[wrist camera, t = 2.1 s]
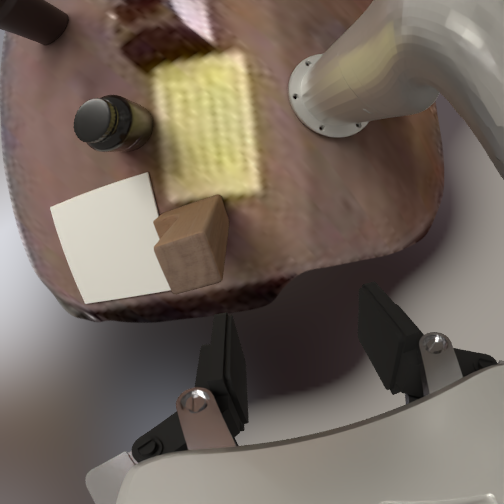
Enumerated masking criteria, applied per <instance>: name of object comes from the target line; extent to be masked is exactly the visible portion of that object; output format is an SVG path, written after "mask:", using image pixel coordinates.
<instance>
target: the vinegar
mask: <svg viewBox="0 0 504 504" xmlns="http://www.w3.org/2000/svg"><path fill="white" fill-rule="evenodd" d="M67 22H68V16H67V15H66V13H64V12H63V11H61V10H59V9H58V8H56V7H55V6H53V5H51V4H50V3H48V2H46V1H44V0H0V29H2V30H5V31H8V32H11V33H14V34H17V35H20V36H22V37H25V38H28V39H31V40H33V41H36V42H38V43H41V44H44V45H45V44H49V43H51V42H53V41H54V40H56V39H57V38H58V37H59V36H60V35H61V34H62V32H63V31H64V29H65V27H66V25H67Z"/></svg>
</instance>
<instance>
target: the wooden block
mask: <svg viewBox="0 0 504 504" xmlns="http://www.w3.org/2000/svg"><path fill="white" fill-rule="evenodd" d="M153 224H154V226H155V229H156V232H157V234H158V237H159V239H160V240H159V241H158V242H157V244H156V245H155V246H154V252H155V255H156V257H157V260H158V262H159V264H160V266H161V269H162V271H163V273H164V276H165V278H166V280H167V282H168V284H169V287H170V289H171V291H172V293H173V294H179V293H183V292H187V291H190V290H194V289H198V288H202V287H205V286H209V285H212V284H216V283H219V282H221V281H222V280H223V271H224V263H225V254H226V246H227V238H228V230H229V219H228V216H227V213H226V210H225V206H224V203H223V200H222V197H221V196H220V195H215V196H212V197H209V198H205V199H202V200H199V201H196V202H193V203H190V204H187V205H184V206H181V207H179V208H176V209H173V210H170V211H167V212H164V213H162V214H161V215H160V216H159V217H158V218H156V219H155V220H154V221H153Z"/></svg>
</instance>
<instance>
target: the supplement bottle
mask: <svg viewBox="0 0 504 504" xmlns="http://www.w3.org/2000/svg"><path fill="white" fill-rule="evenodd" d="M152 129H153V120H152V117H151V114H150V113H149V111H148V110H147V109H146V108H144V107H143V106H141V105H139V104H137V103H135V102H132V101H130V100H128V99H126V98H124V97H121V96H118V95H107V96H104V97H101V98H96V99H95V98H94V99H92V100H89V101H86V102H85V103H84V104H83V105H82V106H81V107H80V108H79V110H78V111H77V114H76V116H75V119H74V131H75V133H76V135H77V137H78V138H79V139H80V140H82V141H83V142H86V143H87V144H88V145H89V146H90V147H91V148H93V149H94V150H97V151H101V152H115V151H132V150H136V149H138V148H140V147H141V146H143V145H144V144H145V143H146V142H147V140H148V139H149V137H150V135H151V133H152Z"/></svg>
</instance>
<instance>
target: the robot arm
mask: <svg viewBox="0 0 504 504" xmlns="http://www.w3.org/2000/svg"><path fill="white" fill-rule="evenodd" d="M306 64H308V65H309V66H307V65H306ZM439 93H441V94H442V95H443V96H444V97H445V98H446V99H447V100H448V101H449V103H450V104H451V105H452V106H453V107H454V109H455V110H456V111H457V112H458V113H459V115H460V116H461V117H462V118H463V119H464V120H465V122H466V123H467V124H468V126H469V127H470V129H471V130H472V131H473V133H474V134H475V136H476V137H477V139H478V140H479V142H480V143H481V145H482V146H483V148H484V149H485V151H486V153H487V154H488V156H489V158H490V159H491V161H492V162H493V164H494V166H495V167H496V169H497V170H498V172H499V174H500V175H501V177H502V178H503V179H504V0H373V2H372V3H371V4H370V6H369V7H368V9H367V10H366V11H365V12H364V13H363V14H362V15H361V16H360V18H359V19H358V20H357V21H356V22H355V23H354V24H353V25H352V26H351V27H350V28H349V29H348V30H347V31H346V32H345V33H344V34H343V35H342V36H341V37H340V38H339V39H338V40H337V41H336V42H335V43H334V44H333V45H332V46H331V47H330V48H329V49H328V50H327V51H326V52H325V53H324V54H317V55H314V56H311V57H308V58H306V59H305V60H303V61H302V62H301V63H300V64H298V65H297V67H296V68H295V69H294V71H293V73H292V74H291V76H290V80H289V83H288V96H289V101H290V104H291V107H292V109H293V111H294V112H295V114H296V116H297V117H298V118H299V119H300V121H301V122H302V123H303V124H304V125H306V126H307V127H308V128H309V129H311V130H313V131H314V132H316V133H318V134H321V135H324V136H328V137H347V136H351V135H354V134H356V133H357V132H359V131H361V130H362V129H363V128H364V127H365V126H366V125H367V124H368V122H369V121H372V120H379V119H385V118H392V117H399V116H406V115H412V114H417V113H420V112H422V111H424V110H426V109H427V108H428V107H430V106H431V105H432V104H433V103H434V101H435V100H436V98H437V97H438V95H439ZM293 96H295V97H296V99H294V98H293ZM356 124H357V125H358V127H356ZM319 127H322V130H320V129H319ZM358 338H359V341H360V343H361V344H362V346H363V348H364V350H365V352H366V353H367V355H368V357H369V359H370V361H371V362H372V364H373V366H374V368H375V370H376V372H377V373H378V375H379V377H380V379H381V381H382V382H383V385H384V386H385V388H386V389H387V390H389V389H390V390H391V393H392V394H393V395H394V394H397V393H399V392H402V393H405V400H406V405H404V406H401V407H399V408H396V409H393V410H391V411H388V412H386V413H383V414H380V415H377V416H374V417H371V418H369V419H366V420H362V421H359V422H356V423H353V424H350V425H346V426H343V427H339V428H335V429H331V430H328V431H324V432H319V433H315V434H311V435H306V436H302V437H297V438H291V439H286V440H280V441H274V442H268V443H260V444H253V445H244V446H238V444H237V442H236V440H235V436H236V435H238V434H239V433H240V431H244V424H246V423H248V401H247V378H246V363H245V358H244V354H243V351H242V347H241V344H240V340H239V337H238V334H237V330H236V326H235V323H234V319H233V316H232V315H230V316H228V314H227V313H222V314H216V315H214V322H213V329H212V337H211V344H209V345H202V346H201V350H200V356H199V364H198V369H197V376H196V383H195V388H190V389H188V390H186V391H184V392H183V393H182V394H181V395H180V396H179V397H178V399H177V401H176V409H177V412H175V413H174V414H173V415H171V416H170V417H169V418H167V419H166V420H164V421H163V422H162V423H160V424H159V425H157V426H156V427H154V428H153V429H151V430H150V431H149V432H147V433H146V434H144V435H143V436H141V437H140V438H139V439H137V440H136V441H135V443H134V444H133V446H132V451H130V452H129V453H127V452H123V453H121V454H120V455H118V456H116V457H114V458H112V459H111V460H109V461H107V462H105V463H103V464H102V465H100V466H98V467H96V468H94V469H92V470H91V471H89V472H88V474H87V476H86V480H85V482H86V486H87V488H88V490H89V492H90V494H91V496H92V498H93V500H94V502H95V504H504V361H499V363H497V362H496V360H495V359H494V358H493V357H491V356H490V355H487V354H482V353H476V352H471V351H466V350H460V349H455V348H453V346H452V344H451V341H450V340H449V338H448V337H447V336H446V335H444V334H442V333H437V332H431V333H427V334H425V335H423V333H422V332H421V331H420V330H419V329H418V327H417V326H416V325H415V324H414V323H413V322H412V320H411V319H410V318H409V317H408V316H407V315H406V313H404V311H403V310H402V309H401V308H400V307H399V306H398V305H397V304H395V303H394V302H393V301H392V300H391V299H390V298H389V297H388V295H387V294H386V293H385V292H384V291H383V290H382V289H381V288H380V287H379V286H378V285H377V283H376V282H371V283H367V284H363V285H362V288H360V289H359V317H358Z"/></svg>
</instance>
